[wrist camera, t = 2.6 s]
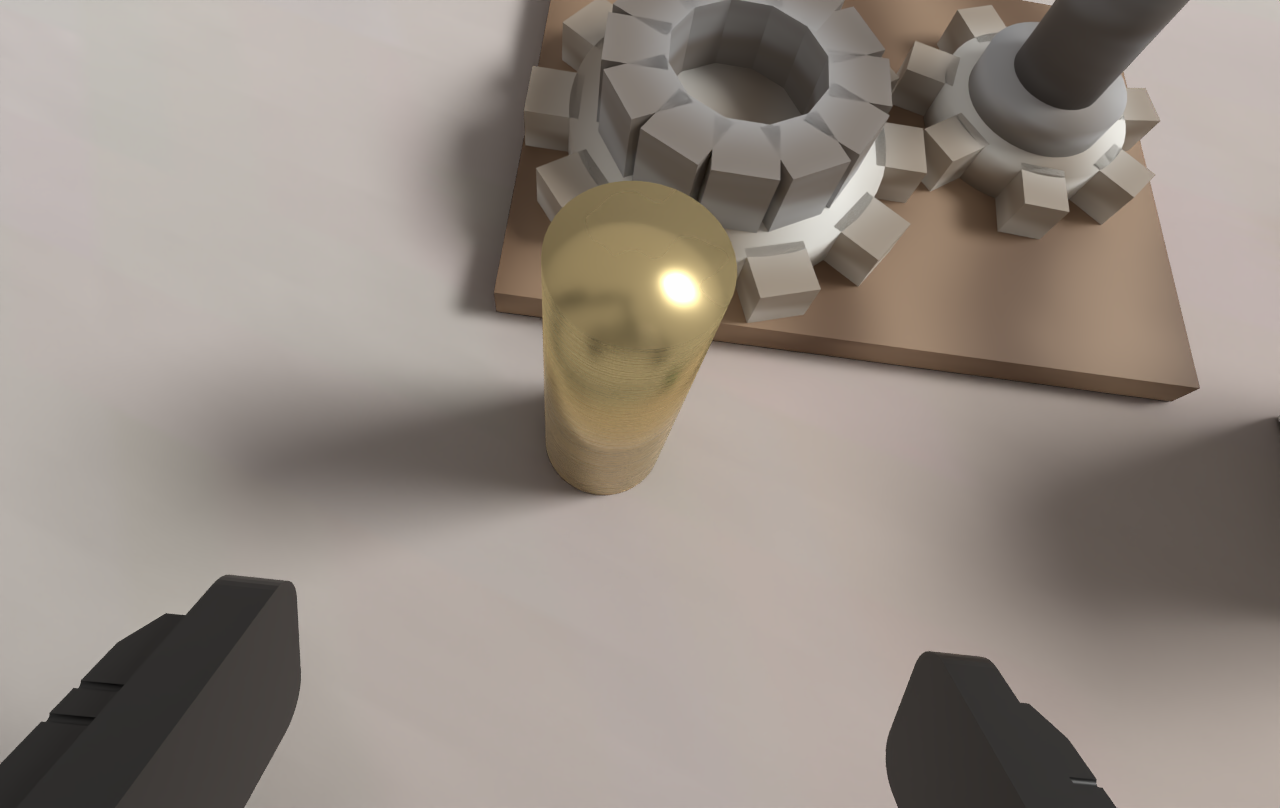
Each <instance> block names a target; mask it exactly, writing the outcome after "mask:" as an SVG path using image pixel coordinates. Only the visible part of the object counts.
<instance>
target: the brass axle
mask: <svg viewBox="0 0 1280 808" xmlns="http://www.w3.org/2000/svg"><path fill="white" fill-rule="evenodd" d="M541 277H542V317H543V357H544V396H545V436H546V449H547V454H548V456H549V459H550V462H551V464H552V465H553V467H554V469H555V470H556V472H557V473H558V474H559V475H560V476H561V477H562V478H563V479H564V480H565V481H566V482H567V483H568V484H570V485H572V486H573V487H575V488H577V489H579V490H581V491H584V492H587V493H591V494H596V495H612V494H617V493H621V492H624V491H627V490H629V489H631V488H633V487H634V486H636V485H637V484H639V483H640V482H641V481H642V480H644V479H645V478H646V477H647V475H648V474H649V473H650V472H651V470H652V468H653V467H654V465H655V463H656V461H657V458H658V456H659V454H660V452H661V450H662V448H663V445H664V443H665V441H666V439H667V437H668V435H669V433H670V430H671V428H672V426H673V424H674V422H675V420H676V417H677V415H678V413H679V411H680V409H681V407H682V405H683V402H684V400H685V398H686V396H687V394H688V392H689V389H690V387H691V385H692V383H693V381H694V379H695V377H696V374H697V372H698V370H699V368H700V366H701V364H702V361H703V359H704V357H705V355H706V353H707V351H708V349H709V346H710V344H711V342H712V340H713V338H714V336H715V333H716V331H717V329H718V327H719V325H720V323H721V321H722V318H723V316H724V314H725V312H726V310H727V308H728V305H729V303H730V301H731V299H732V297H733V294H734V290H735V286H736V280H737V262H736V257H735V252H734V249H733V246H732V243H731V241H730V239H729V237H728V235H727V233H726V231H725V229H724V228H723V226H722V225H721V223H720V222H719V221H718V220H717V219H716V217H715V216H714V215H713V214H712V213H711V212H710V211H709V210H708V209H707V208H705V207H704V206H703V205H702V204H700V203H699V202H698V201H696V200H695V199H693V198H692V197H690V196H688V195H686V194H685V193H683V192H680V191H678V190H676V189H673V188H671V187H667V186H664V185H661V184H656V183H652V182H644V181H619V182H612V183H607V184H603V185H600V186H597V187H594V188H591V189H589V190H587V191H585V192H583V193H581V194H579V195H578V196H576V197H575V198H573V199H572V200H570V201H569V202H568V203H567V204H566V205H565V206H564V207H562V208H561V210H560V211H559V212H558V213H557V214H556V216H555V217H554V218H553V220H552V222H551V223H550V225H549V227H548V229H547V232H546V234H545V237H544V241H543V245H542V252H541Z"/></svg>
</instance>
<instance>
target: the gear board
mask: <svg viewBox="0 0 1280 808" xmlns="http://www.w3.org/2000/svg"><path fill="white" fill-rule="evenodd" d="M1188 1H1189V0H1056V1H1055V2H1054V3H1053V5H1052V6H1051V5H1045V4H1040V3H1034V2H1028V1H1023V0H551V1H550V6H549V11H548V17H547V22H546V27H545V32H544V37H543V42H542V47H541V53H540V58H539V63H538V67H537V66H532V71H531V76H530V81H529V86H528V91H527V96H526V101H525V106H524V127H525V135H524V140H523V145H522V150H521V155H520V160H519V166H518V171H517V176H516V181H515V186H514V191H513V196H512V201H511V207H510V212H509V217H508V222H507V227H506V232H505V237H504V243H503V248H502V253H501V258H500V263H499V268H498V273H497V278H496V284H495V289H494V297H495V304H496V311H498V312H506V313H513V314H521V315H528V316H536V317H542V277H541V252H542V245H543V241H544V237H545V234H546V232H547V229H548V227H549V225H550V223H551V222H552V220H553V218H554V217H555V216H556V214H557V213H558V212H559V211H560V210H561V208H562V207H564V206H565V205H566V204H567V203H568V202H569V201H570V200H572V199H573V198H575V197H576V196H578V195H579V194H581V193H583V192H585V191H587V190H589V189H591V188H594V187H597V186H600V185H603V184H607V183H612V182H619V181H644V182H652V183H656V184H661V185H664V186H667V187H671V188H673V189H676V190H678V191H680V192H683V193H685V194H686V195H688V196H690V197H692V198H693V199H695V200H696V201H698V202H699V203H700V204H702V205H703V206H704V207H705V208H707V209H708V210H709V211H710V212H711V213H712V214H713V215H714V216H715V217H716V219H717V220H718V221H719V222H720V223H721V225H722V226H723V228H724V229H725V231H726V233H727V235H728V237H729V239H730V241H731V243H732V246H733V249H734V252H735V257H736V262H737V280H736V286H735V290H734V294H733V297H732V299H731V301H730V303H729V305H728V308H727V310H726V312H725V314H724V316H723V318H722V321H721V323H720V325H719V327H718V329H717V331H716V333H715V336H714V338H713V340H715V341H723V342H730V343H738V344H745V345H753V346H760V347H768V348H775V349H783V350H790V351H798V352H805V353H813V354H820V355H828V356H835V357H843V358H850V359H857V360H865V361H872V362H880V363H887V364H895V365H902V366H910V367H917V368H925V369H932V370H940V371H947V372H955V373H962V374H970V375H977V376H985V377H992V378H1000V379H1007V380H1015V381H1022V382H1030V383H1037V384H1044V385H1052V386H1059V387H1067V388H1074V389H1082V390H1089V391H1097V392H1104V393H1112V394H1119V395H1127V396H1134V397H1142V398H1149V399H1157V400H1164V401H1173V400H1175V399H1178V398H1180V397H1182V396H1184V395H1186V394H1188V393H1191V392H1193V391H1195V390H1197V389H1199V388H1200V387H1199V383H1198V378H1197V374H1196V370H1195V366H1194V362H1193V358H1192V354H1191V350H1190V345H1189V341H1188V337H1187V333H1186V329H1185V325H1184V321H1183V316H1182V312H1181V308H1180V304H1179V300H1178V296H1177V292H1176V288H1175V283H1174V279H1173V275H1172V271H1171V267H1170V263H1169V259H1168V254H1167V250H1166V246H1165V242H1164V238H1163V234H1162V230H1161V225H1160V221H1159V217H1158V213H1157V209H1156V205H1155V201H1154V197H1153V192H1152V188H1151V184H1150V180H1151V179H1152V178H1153V177H1154V176H1155V174H1154V173H1153V172H1151V171H1150V170H1149V169H1147V168H1146V163H1145V159H1144V155H1143V151H1142V147H1141V143H1140V139H1141V138H1142V137H1143V136H1145V135H1146V134H1147V133H1148V132H1149V131H1150V130H1151V129H1152V128H1153V127H1154V126H1155V125H1156V124H1157V123H1159V122H1160V119H1159V117H1158V115H1157V112H1156V110H1155V108H1154V106H1153V104H1152V101H1151V99H1150V97H1149V95H1148V93H1147V91H1146V88H1127V85H1126V81H1125V77H1124V72H1123V71H1124V70H1125V69H1126V68H1127V67H1128V66H1129V65H1130V64H1131V63H1132V62H1133V60H1134V59H1135V58H1136V57H1137V56H1138V55H1139V54H1140V53H1141V52H1142V51H1143V50H1144V49H1145V48H1146V46H1147V45H1148V44H1149V43H1150V42H1151V41H1152V40H1153V39H1154V38H1155V37H1156V36H1157V35H1158V34H1159V32H1160V31H1161V30H1162V29H1163V28H1164V27H1165V26H1166V25H1167V24H1168V23H1169V22H1170V21H1171V20H1172V18H1173V17H1174V16H1175V15H1176V14H1177V13H1178V12H1179V11H1180V10H1181V9H1182V8H1183V7H1184V6H1185V4H1186V3H1187V2H1188Z"/></svg>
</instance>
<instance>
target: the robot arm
mask: <svg viewBox="0 0 1280 808" xmlns="http://www.w3.org/2000/svg"><path fill="white" fill-rule="evenodd" d="M300 682H301V668H300V649H299V630H298V611H297V595H296V590H295V587H294V585H293V583H292V582H290V581H283V580H273V579H264V578H255V577H245V576H236V575H225V576H222V577H220V578H219V579H218V580H217V581H216V582H215V583H214V584H213V585H212V586H211V587H210V588H209V589H208V590H207V592H206V593H205V594H204V595H203V596H202V597H201V598H200V600H199V601H198V602H197V603H196V604H195V605H194V606H193V607H192V609H191V610H190V611H189V612H188V613H187V614H186V615H177V614H167V613H166V614H164V615H162V616H161V617H159V618H157V619H156V620H154V621H152V622H151V623H149V624H147V625H146V626H144V627H143V628H141V629H139V630H138V631H136V632H134V633H133V634H131V635H129V636H128V637H126V638H124V639H123V640H121V641H119V642H118V643H117V644H116V645H115V646H114V647H113V648H112V649H111V650H110V651H109V652H108V653H107V654H106V655H105V656H104V657H103V658H102V659H101V660H100V661H99V662H98V663H97V664H96V665H95V666H94V667H93V669H92V670H91V671H90V672H89V673H88V674H87V675H86V676H85V677H84V678H83V679H82V680H81V684H80V686H79V688H78V689H77V688H73V689H72V690H71V691H70V692H69V693H68V694H67V696H66V697H65V698H64V699H63V700H62V701H61V702H60V703H59V704H58V705H57V706H56V707H55V708H54V709H53V710H52V711H51V712H50V716H49V718H48V720H47V721H46V722H41V723H40V724H39V725H38V726H37V727H36V728H35V729H34V730H33V731H32V732H31V733H30V734H29V735H28V736H27V737H26V738H25V739H24V740H23V741H22V742H21V743H20V744H19V745H18V746H17V747H16V748H15V750H14V751H13V752H12V753H11V754H10V755H9V756H8V757H7V758H6V759H5V760H4V761H3V762H2V763H1V764H0V808H244V807H245V805H246V803H247V801H248V800H249V798H250V796H251V794H252V792H253V790H254V789H255V787H256V785H257V783H258V781H259V780H260V778H261V776H262V774H263V772H264V771H265V769H266V767H267V765H268V763H269V762H270V760H271V758H272V756H273V754H274V752H275V751H276V749H277V747H278V745H279V743H280V742H281V740H282V738H283V736H284V734H285V733H286V731H287V729H288V727H289V724H290V722H291V719H292V717H293V714H294V711H295V708H296V704H297V700H298V696H299V690H300ZM886 768H887V775H888V780H889V784H890V787H891V790H892V793H893V796H894V798H895V801H896V803H897V806H898V808H1116V806H1115V805H1114V804H1113V802H1112V801H1111V799H1110V798H1109V797H1108V795H1107V794H1106V792H1105V791H1104V789H1103V788H1099V787H1097V784H1096V780H1097V779H1096V778H1095V777H1094V775H1093V774H1092V772H1091V771H1090V769H1089V768H1088V767H1087V765H1086V764H1085V762H1084V761H1083V759H1082V758H1081V757H1080V755H1079V754H1078V752H1077V751H1076V749H1075V748H1074V747H1073V745H1072V744H1071V742H1070V741H1069V740H1068V738H1066V737H1065V736H1064V735H1063V734H1062V733H1061V732H1060V731H1059V730H1058V729H1056V728H1055V727H1054V726H1053V725H1052V724H1051V723H1050V722H1049V721H1048V720H1046V719H1045V718H1044V717H1043V716H1042V715H1041V714H1040V713H1039V712H1038V711H1036V710H1035V709H1034V708H1033V707H1032V706H1031V705H1030V704H1027V703H1020V702H1019V701H1018V699H1017V698H1016V696H1015V695H1014V693H1013V692H1012V690H1011V689H1010V687H1009V686H1008V684H1007V683H1006V681H1005V680H1004V678H1003V677H1002V675H1001V674H1000V672H999V671H998V669H997V668H996V666H995V665H994V664H993V663H992V662H991V661H990V660H988V659H987V658H984V657H978V656H969V655H959V654H950V653H941V652H931V651H928V652H924V653H923V654H922V655H921V656H920V657H919V658H918V660H917V662H916V664H915V666H914V669H913V672H912V674H911V677H910V680H909V682H908V685H907V687H906V690H905V693H904V695H903V698H902V701H901V703H900V706H899V709H898V711H897V714H896V716H895V719H894V722H893V724H892V727H891V730H890V732H889V735H888V739H887V745H886Z"/></svg>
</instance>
